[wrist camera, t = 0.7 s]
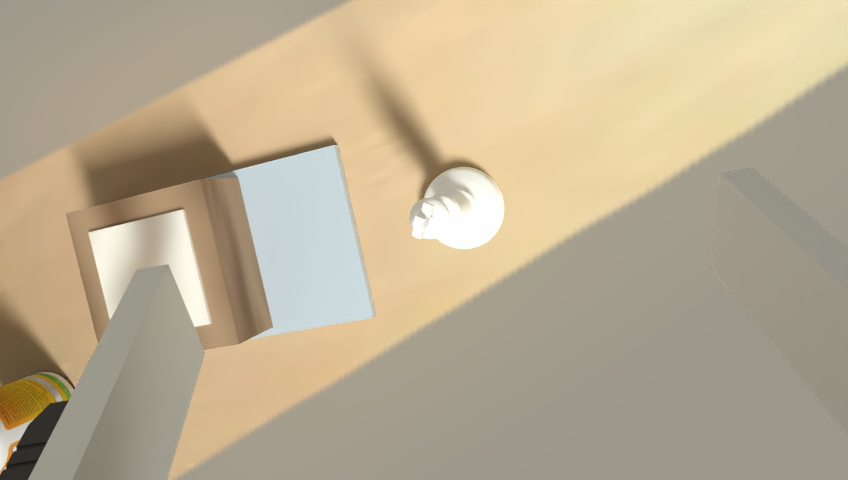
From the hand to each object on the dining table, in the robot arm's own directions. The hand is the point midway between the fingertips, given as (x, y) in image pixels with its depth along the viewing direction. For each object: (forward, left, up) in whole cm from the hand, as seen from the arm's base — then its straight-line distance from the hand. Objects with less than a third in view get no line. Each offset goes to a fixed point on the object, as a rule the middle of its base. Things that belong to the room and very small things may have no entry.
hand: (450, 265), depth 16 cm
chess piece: (+5, -1, -24) cm, 24 cm away
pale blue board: (+21, -1, -24) cm, 31 cm away
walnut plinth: (+24, -1, -24) cm, 33 cm away
